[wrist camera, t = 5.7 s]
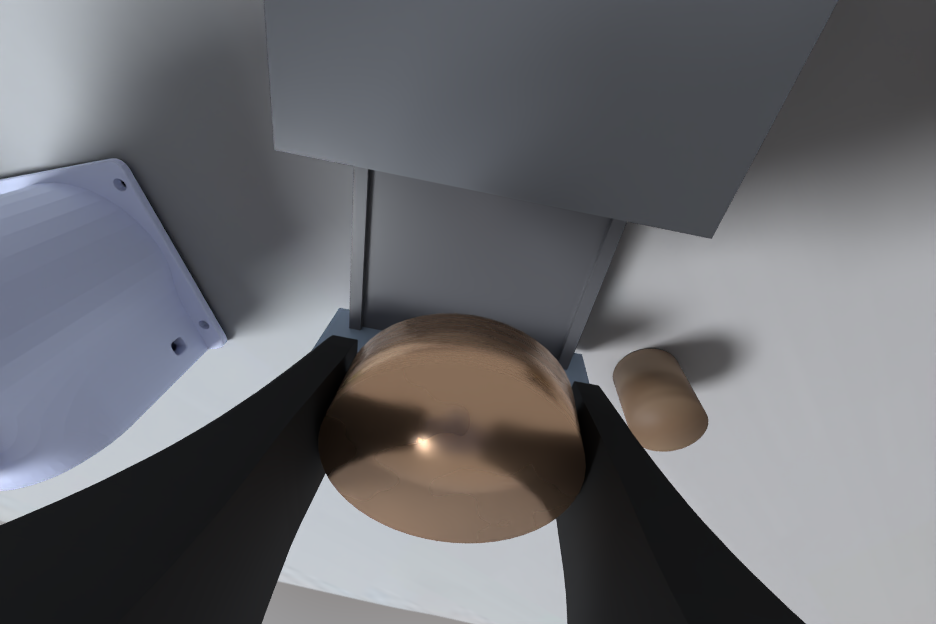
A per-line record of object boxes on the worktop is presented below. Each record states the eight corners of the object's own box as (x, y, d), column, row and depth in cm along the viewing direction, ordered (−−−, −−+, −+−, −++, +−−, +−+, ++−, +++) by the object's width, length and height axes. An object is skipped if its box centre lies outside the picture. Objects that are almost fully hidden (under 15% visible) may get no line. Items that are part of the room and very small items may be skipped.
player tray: (577, 365, 20) (594, 441, 16) (339, 320, 20) (298, 385, 16) (678, 124, 14) (742, 152, 10) (342, 53, 14) (279, 54, 10)
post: (676, 395, 22) (703, 449, 19) (612, 399, 22) (629, 453, 19) (682, 345, 20) (713, 397, 17) (613, 351, 20) (631, 402, 17)
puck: (575, 304, 8) (589, 357, 6) (573, 481, 10) (583, 544, 9) (314, 321, 8) (278, 372, 7) (376, 483, 11) (358, 541, 10)
